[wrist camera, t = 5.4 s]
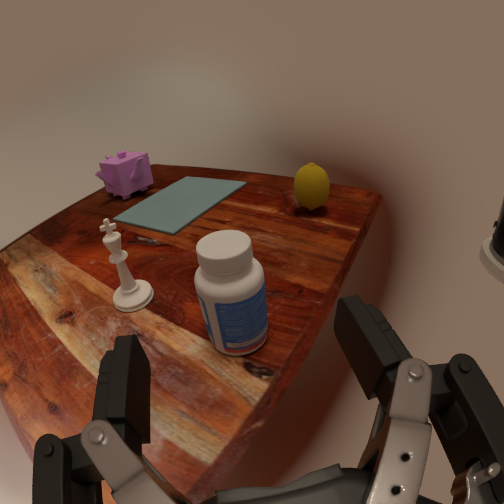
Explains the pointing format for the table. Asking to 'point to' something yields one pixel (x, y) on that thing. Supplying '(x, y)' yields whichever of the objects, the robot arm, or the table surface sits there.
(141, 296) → the chess piece
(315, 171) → the lemon
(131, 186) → the teapot
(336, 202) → the table surface
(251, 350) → the pill bottle
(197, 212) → the cloth mat
